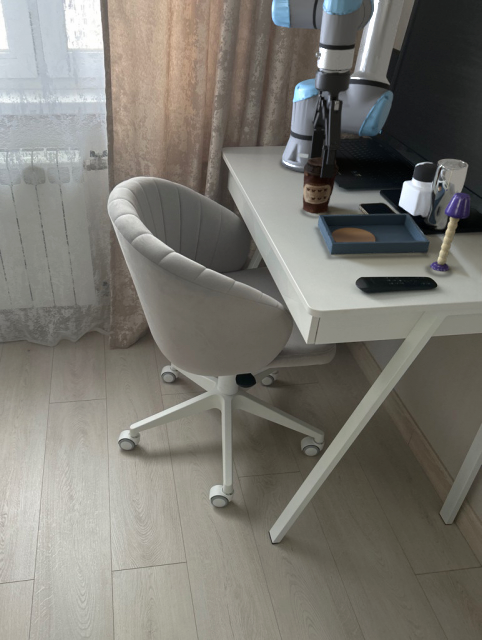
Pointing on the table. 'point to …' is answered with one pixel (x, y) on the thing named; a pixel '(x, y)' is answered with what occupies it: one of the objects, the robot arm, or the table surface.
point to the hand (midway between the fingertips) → (320, 167)
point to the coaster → (352, 235)
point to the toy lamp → (452, 227)
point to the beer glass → (444, 191)
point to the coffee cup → (317, 187)
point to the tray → (375, 233)
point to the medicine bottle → (418, 190)
